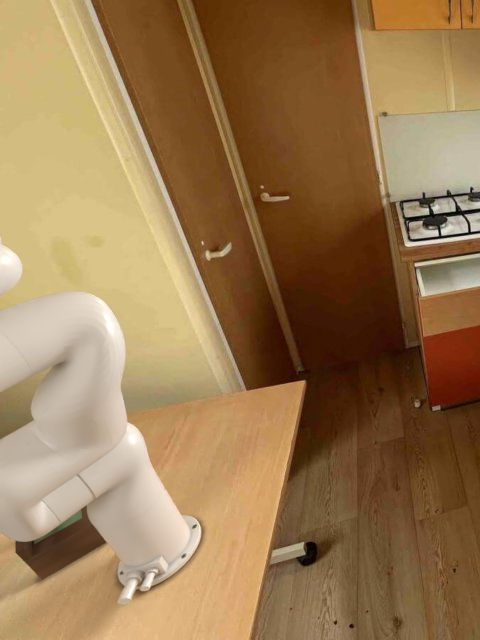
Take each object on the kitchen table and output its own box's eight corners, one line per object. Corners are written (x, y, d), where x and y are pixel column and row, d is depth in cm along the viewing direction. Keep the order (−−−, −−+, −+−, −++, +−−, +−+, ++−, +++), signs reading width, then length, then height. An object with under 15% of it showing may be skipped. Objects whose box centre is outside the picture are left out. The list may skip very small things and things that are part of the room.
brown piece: (99, 500, 89) (79, 472, 85) (107, 541, 82) (85, 514, 78) (39, 532, 83) (15, 504, 79) (42, 580, 76) (15, 552, 72)
